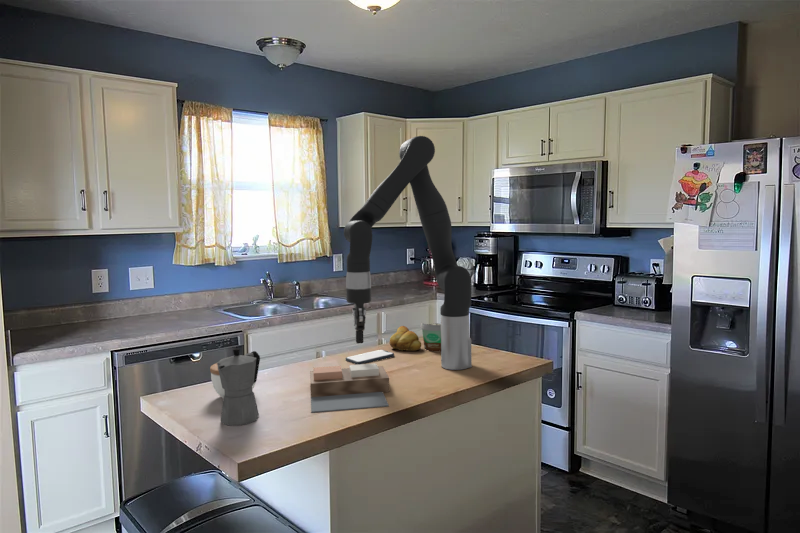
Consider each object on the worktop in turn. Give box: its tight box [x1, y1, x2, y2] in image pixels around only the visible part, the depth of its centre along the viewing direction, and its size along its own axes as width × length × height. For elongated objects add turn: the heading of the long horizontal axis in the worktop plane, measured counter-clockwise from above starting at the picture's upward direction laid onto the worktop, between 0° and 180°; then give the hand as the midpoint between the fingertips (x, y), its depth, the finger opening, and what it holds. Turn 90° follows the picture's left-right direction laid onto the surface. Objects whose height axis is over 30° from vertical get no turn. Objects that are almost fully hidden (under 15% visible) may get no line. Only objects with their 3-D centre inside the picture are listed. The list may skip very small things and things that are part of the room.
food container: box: [420, 322, 441, 352], centre depth 202 cm, size 12×6×10 cm, turn 80°
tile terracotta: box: [312, 365, 343, 380], centre depth 158 cm, size 8×6×2 cm
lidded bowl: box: [209, 362, 257, 400], centre depth 155 cm, size 13×13×11 cm
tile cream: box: [348, 362, 379, 378], centre depth 160 cm, size 8×6×2 cm
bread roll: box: [388, 325, 422, 352], centre depth 205 cm, size 13×10×8 cm
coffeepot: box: [216, 347, 261, 427], centre depth 137 cm, size 15×9×18 cm, turn 159°
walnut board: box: [309, 365, 390, 398], centre depth 160 cm, size 22×13×4 cm, turn 100°
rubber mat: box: [310, 392, 390, 414], centre depth 148 cm, size 20×12×1 cm, turn 100°
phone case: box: [345, 349, 395, 365], centre depth 193 cm, size 9×2×16 cm
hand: (359, 342), depth 168 cm, fingers closed
